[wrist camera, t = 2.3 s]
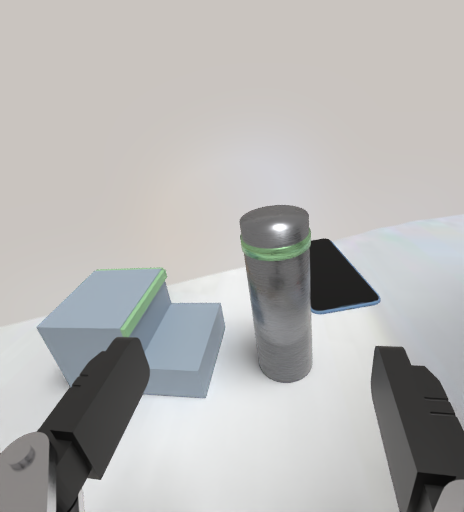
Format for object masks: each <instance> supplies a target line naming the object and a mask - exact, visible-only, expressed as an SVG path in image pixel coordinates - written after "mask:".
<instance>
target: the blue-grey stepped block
mask: <svg viewBox="0 0 464 512" xmlns="http://www.w3.org/2000/svg"><path fill="white" fill-rule="evenodd" d="M166 278H167V275H166V271H165V270H164V269H163V268H134V269H133V268H132V269H101V270H96V271H94V272H93V273H92V274H91V275H90V276H89V277H88V278H87V279H86V280H85V281H83V282H82V283H81V284H80V285H79V286H78V287H77V288H76V289H75V290H74V291H73V292H72V293H71V294H70V295H69V296H68V297H67V298H66V299H65V300H64V301H63V302H62V303H61V304H60V305H59V306H58V307H57V308H56V309H55V310H54V311H53V312H52V313H51V314H49V315H48V316H47V317H46V318H45V319H44V320H43V321H42V322H41V323H40V324H39V325H38V326H37V327H36V328H37V329H38V331H39V333H40V335H41V336H42V338H43V340H44V342H45V343H46V345H47V347H48V349H49V350H50V352H51V354H52V355H53V357H54V359H55V361H56V362H57V364H58V366H59V368H60V369H61V371H62V373H63V375H64V376H65V378H66V380H67V382H68V383H69V385H70V387H72V384H73V382H74V381H75V380H76V378H77V377H79V376H80V373H81V372H82V370H83V369H84V368H85V366H86V365H87V363H88V362H89V361H90V360H91V359H93V358H94V357H95V356H96V355H98V354H99V353H100V352H101V351H106V350H107V348H108V347H109V345H110V344H111V343H112V341H113V340H114V339H115V338H116V337H137V338H139V339H140V341H141V344H142V347H143V350H144V353H145V356H146V358H147V361H148V364H149V367H150V377H149V382H148V384H147V387H146V389H145V391H144V393H143V394H152V395H167V396H182V397H198V398H206V395H207V391H208V388H209V384H210V380H211V377H212V373H213V370H214V366H215V362H216V359H217V355H218V352H219V348H220V344H221V341H222V337H223V334H224V330H225V323H224V318H223V313H222V308H221V303H171V300H170V297H169V293H168V290H167V286H166V283H165V279H166Z"/></svg>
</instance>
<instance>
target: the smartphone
mask: <svg viewBox="0 0 464 512" xmlns="http://www.w3.org/2000/svg"><path fill="white" fill-rule="evenodd" d="M309 250H310V289H311V312H313V313H315V314H326V313H330V312H331V313H332V312H335V311H344V310H346V309H350V308H353V309H355V308H360V307H363V306H364V307H365V306H370V305H376V304H378V303H379V302H380V296H379V295H378V294H377V293H376V291H375V290H374V289H373V288H372V287H371V286H370V285H369V283H368V282H367V281H366V280H365V279H364V278H363V277H362V275H361V274H360V273H359V272H358V271H357V270H356V269H355V267H354V266H353V265H352V264H351V263H350V262H349V261H348V259H347V258H346V257H345V256H344V255H343V254H342V253H341V251H340V250H339V249H338V248H337V247H336V246H335V245H334V243H333V242H332V241H330V240H329V239H319V240H313V241H311V245H310V247H309Z"/></svg>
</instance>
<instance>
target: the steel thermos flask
mask: <svg viewBox="0 0 464 512" xmlns="http://www.w3.org/2000/svg"><path fill="white" fill-rule="evenodd" d="M240 228H241V235H240V239H241V246H242V250H243V252H244V256H245V263H246V271H247V278H248V285H249V292H250V300H251V307H252V314H253V321H254V328H255V335H256V343H257V350H258V357H259V364H260V368H261V370H262V371H263V373H264V374H265V375H266V376H267V377H269V378H270V379H272V380H274V381H277V382H283V383H290V382H295V381H298V380H300V379H302V378H304V377H305V376H306V375H307V374H308V373H309V372H310V370H311V368H312V329H311V289H310V250H309V247H310V245H311V231H310V228H309V215H308V213H307V211H305V210H304V209H302V208H299V207H295V206H289V205H275V206H266V207H262V208H258V209H255V210H252V211H250V212H248V213H246V214H245V215H243V216H242V217H241V219H240Z"/></svg>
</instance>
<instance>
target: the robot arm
mask: <svg viewBox="0 0 464 512" xmlns="http://www.w3.org/2000/svg"><path fill="white" fill-rule="evenodd" d="M149 377H150V367H149V364H148V361H147V358H146V356H145V353H144V350H143V347H142V344H141V341H140V339H139V338H137V337H116V338H115V339H114V340H113V341H112V343H111V344H110V345H109V347H108V348H107V350H106V351H101V352H100V353H99V354H98V355H96V356H95V357H94V358H93V359H91V360H90V361H89V362H88V363H87V365H86V366H85V368H84V369H83V370H82V372H81V373H80V376H79V377H77V378H76V380H75V381H74V382H73V384H72V387H71V388H69V389H68V391H67V392H66V393H65V395H64V396H63V397H62V399H61V400H60V401H59V403H58V404H57V405H56V407H55V408H54V409H53V411H52V412H51V414H50V415H49V416H48V418H47V419H46V420H45V422H44V423H43V424H42V426H41V427H40V428H39V429H38V431H37V432H33V433H29V434H26V435H24V436H22V437H20V438H18V439H17V440H15V441H14V442H12V443H11V444H10V445H9V446H8V447H7V448H5V450H4V451H3V452H2V453H0V512H85V510H84V495H83V490H82V486H83V485H84V483H85V481H86V479H87V478H91V479H98V480H101V478H102V476H103V474H104V472H105V470H106V468H107V466H108V464H109V462H110V460H111V458H112V456H113V454H114V452H115V450H116V448H117V446H118V444H119V442H120V440H121V438H122V436H123V433H124V431H125V429H126V427H127V425H128V423H129V421H130V419H131V417H132V415H133V413H134V411H135V409H136V407H137V405H138V403H139V401H140V399H141V397H142V395H143V393H144V391H145V389H146V387H147V384H148V382H149ZM371 393H372V399H373V404H374V408H375V412H376V416H377V420H378V424H379V428H380V433H381V437H382V441H383V445H384V449H385V453H386V457H387V461H388V466H389V470H390V474H391V478H392V482H393V486H394V490H395V494H396V499H397V503H398V507H399V511H400V512H464V431H463V429H462V427H461V424H460V422H459V420H458V418H457V417H456V416H455V412H454V410H453V408H452V406H451V404H450V402H448V398H447V395H446V393H445V391H444V389H443V387H442V385H441V383H440V381H439V380H438V379H437V378H436V377H435V376H434V375H433V374H432V373H431V372H430V371H429V370H428V369H427V368H426V367H425V366H413V365H411V364H410V361H409V359H408V356H407V354H406V351H405V350H404V348H403V347H390V346H376V347H375V350H374V358H373V367H372V375H371Z"/></svg>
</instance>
